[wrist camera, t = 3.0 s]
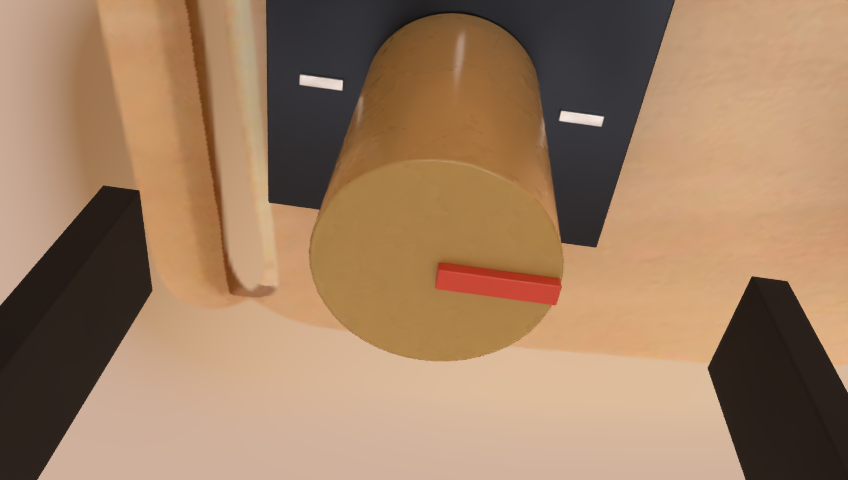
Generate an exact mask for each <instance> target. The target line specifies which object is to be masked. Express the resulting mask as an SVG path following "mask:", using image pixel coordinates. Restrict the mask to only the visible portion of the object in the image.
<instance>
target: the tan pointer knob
mask: <svg viewBox="0 0 848 480" xmlns="http://www.w3.org/2000/svg"><path fill="white" fill-rule="evenodd" d="M309 259H310V268H311V273H312V277H313V280H314V283H315V286H316V288H317V291H318V293H319V295H320V297H321V298H322V300H323V302H324V304H325V305H326V306H327V308H328V309H329V310H330V312H331V313H332V314H333V315H334V316H335V318H336V319H337V320H338V321H339V322H340V323H341V324H342V325H343V326H345V327H346V328H347V329H348V330H350V331H351V332H352V333H353V334H355V335H356V336H358V337H360V338H361V339H362V340H364V341H366V342H368V343H370V344H372V345H373V346H375V347H378V348H380V349H382V350H385V351H387V352H390V353H393V354H396V355H400V356H404V357H408V358H413V359H418V360H427V361H428V360H429V361H457V360H466V359H471V358H476V357H480V356H484V355H486V354H490V353H493V352H496V351H498V350H500V349H503V348H505V347H507V346H509V345H511V344H512V343H514V342H516V341H518V340H519V339H521V338H522V337H523V336H525V335H526V334H527V333H529V332H530V331H531V330H532V329H533V328H534V327H535V326H536V325H537V324H538V323H539V322H540V321H541V320H542V319H543V318H544V316H545V315H546V314H547V312H548V311H549V309H550V308H551V306H552V305H556V304H557V301H558V297H559V294H560V291H561V287H562V286H561V281H562V276H563V261H564V259H563V252H562V244H561V237H560V230H559V223H558V216H557V209H556V202H555V195H554V187H553V180H552V173H551V166H550V159H549V152H548V145H547V138H546V131H545V124H544V117H543V110H542V102H541V95H540V88H539V81H538V77H537V74H536V70H535V68H534V65H533V63H532V61H531V59H530V57H529V56H528V54H527V52H526V51H525V49H524V48H523V47H522V46H521V44H520V43H519V42H518V41H517V40H516V39H515V38H514V37H513V36H512V35H510V34H509V33H508V32H507V31H505V30H504V29H502V28H501V27H499V26H498V25H496V24H494V23H492V22H490V21H488V20H485V19H482V18H479V17H476V16H471V15H466V14H456V13H447V14H437V15H432V16H427V17H424V18H421V19H418V20H415V21H413V22H411V23H409V24H407V25H405V26H404V27H402V28H401V29H399V30H398V31H396V32H395V33H394V34H393V35H392V36H391V37H389V38H388V39H387V40H386V42H385V43H384V44H383V45H382V46H381V47H380V49H379V50H378V52H377V53H376V55H375V57H374V59H373V61H372V63H371V65H370V67H369V70H368V73H367V76H366V79H365V82H364V84H363V87H362V90H361V93H360V96H359V99H358V102H357V105H356V107H355V110H354V113H353V116H352V119H351V122H350V125H349V128H348V130H347V133H346V136H345V139H344V142H343V145H342V148H341V151H340V153H339V156H338V159H337V162H336V165H335V168H334V171H333V173H332V176H331V179H330V182H329V185H328V188H327V191H326V194H325V196H324V199H323V202H322V205H321V208H320V211H319V214H318V217H317V219H316V222H315V225H314V229H313V232H312V236H311V240H310V249H309Z"/></svg>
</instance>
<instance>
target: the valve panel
mask: <svg viewBox="0 0 848 480" xmlns="http://www.w3.org/2000/svg"><path fill="white" fill-rule="evenodd" d="M674 2H675V0H266V26H267V115H268V201H269V203H276V204H283V205H290V206H298V207H305V208H312V209H319V210H320V208H321V205H322V202H323V199H324V196H325V194H326V191H327V188H328V185H329V182H330V179H331V176H332V173H333V171H334V168H335V165H336V162H337V159H338V156H339V153H340V151H341V148H342V145H343V142H344V139H345V136H346V133H347V130H348V128H349V125H350V122H351V119H352V116H353V113H354V110H355V107H356V105H357V102H358V99H359V96H360V93H361V90H362V87H363V84H364V82H365V79H366V76H367V73H368V70H369V67H370V65H371V63H372V61H373V59H374V57H375V55H376V53H377V52H378V50H379V49H380V47H381V46H382V45H383V44H384V43H385V42H386V40H387V39H388V38H389V37H391V36H392V35H393V34H394V33H395V32H396V31H398V30H399V29H401V28H402V27H404V26H405V25H407V24H409V23H411V22H413V21H415V20H418V19H421V18H424V17H427V16H432V15H437V14H447V13H456V14H466V15H471V16H476V17H479V18H482V19H485V20H488V21H490V22H492V23H494V24H496V25H498V26H499V27H501V28H502V29H504V30H505V31H507V32H508V33H509V34H510V35H512V36H513V37H514V38H515V39H516V40H517V41H518V42H519V43H520V44H521V46H522V47H523V48H524V49H525V51H526V52H527V54H528V56H529V57H530V59H531V61H532V63H533V65H534V68H535V70H536V74H537V77H538V81H539V88H540V95H541V102H542V110H543V117H544V124H545V131H546V138H547V145H548V152H549V159H550V166H551V173H552V180H553V187H554V195H555V202H556V209H557V216H558V223H559V230H560V237H561V243H567V244H574V245H581V246H589V247H597V244H598V241H599V238H600V234H601V231H602V228H603V225H604V222H605V219H606V216H607V212H608V209H609V206H610V203H611V200H612V197H613V194H614V190H615V187H616V184H617V181H618V178H619V175H620V172H621V168H622V165H623V162H624V159H625V156H626V153H627V149H628V146H629V143H630V140H631V137H632V134H633V131H634V127H635V124H636V121H637V118H638V115H639V112H640V109H641V105H642V102H643V99H644V96H645V93H646V90H647V87H648V83H649V80H650V77H651V74H652V71H653V68H654V65H655V61H656V58H657V55H658V52H659V49H660V46H661V43H662V39H663V36H664V33H665V30H666V27H667V24H668V20H669V17H670V14H671V11H672V8H673V5H674Z"/></svg>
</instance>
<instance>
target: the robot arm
mask: <svg viewBox="0 0 848 480" xmlns="http://www.w3.org/2000/svg"><path fill="white" fill-rule="evenodd" d="M151 292H152V284H151V277H150V269H149V261H148V253H147V245H146V238H145V230H144V222H143V215H142V207H141V199H140V192H139V190H132V189H124V188H117V187H110V186H103V187H102V188H101V189H100V190H99V191H98V193H97V194H96V195H95V196H94V197H93V198H92V200H91V201H90V202H89V203H88V204H87V205H86V207H85V208H84V209H83V210H82V211H81V212H80V213H79V215H78V216H77V217H76V218H75V219H74V220H73V222H72V223H71V224H70V225H69V226H68V227H67V229H66V230H65V231H64V232H63V234H61V236H60V237H59V238H58V239H57V240H56V241H55V243H54V244H53V245H52V246H51V247H50V248H49V250H48V251H47V252H46V253H45V254H44V256H43V257H42V258H41V259H40V260H39V261H38V262H37V264H36V265H35V266H34V267H33V268H32V269H31V271H30V272H29V273H28V274H27V275H26V276H25V278H24V279H23V280H22V281H21V282H20V283H19V285H18V286H17V287H16V288H15V289H14V290H13V292H12V293H11V294H10V295H9V296H8V297H7V299H6V300H5V301H4V302H3V303H2V304H1V305H0V480H37V479H38V478H39V476H40V474H41V473H42V471H43V470H44V468H45V466H46V465H47V463H48V461H49V460H50V458H51V456H52V455H53V453H54V452H55V450H56V448H57V447H58V445H59V443H60V442H61V440H62V438H63V437H64V435H65V433H66V432H67V430H68V429H69V427H70V425H71V424H72V422H73V420H74V419H75V417H76V415H77V414H78V412H79V410H80V409H81V407H82V405H83V404H84V402H85V401H86V399H87V397H88V395H89V394H90V392H91V391H92V389H93V387H94V386H95V384H96V382H97V381H98V379H99V378H100V376H101V374H102V373H103V371H104V369H105V367H106V366H107V364H108V363H109V361H110V360H111V358H112V356H113V355H114V353H115V351H116V350H117V348H118V346H119V344H120V343H121V341H122V340H123V338H124V336H125V335H126V333H127V332H128V330H129V328H130V327H131V325H132V323H133V322H134V320H135V318H136V317H137V315H138V314H139V312H140V310H141V308H142V307H143V305H144V304H145V302H146V300H147V299H148V297H149V295H150V294H151ZM708 371H709V374H710V377H711V379H712V382H713V385H714V388H715V391H716V394H717V397H718V400H719V403H720V406H721V409H722V412H723V414H724V418H725V420H726V424H727V426H728V429H729V432H730V435H731V438H732V441H733V444H734V447H735V450H736V453H737V456H738V459H739V462H740V465H741V467H742V470H743V473H744V476H745V479H746V480H848V392H847V390H846V389H845V387H844V385H843V383H842V381H841V379H840V378H839V376H838V374H837V372H836V370H835V368H834V366H833V365H832V363H831V361H830V359H829V357H828V355H827V353H826V352H825V350H824V348H823V346H822V344H821V342H820V341H819V339H818V337H817V335H816V333H815V331H814V329H813V328H812V326H811V324H810V322H809V320H808V318H807V316H806V315H805V313H804V311H803V309H802V307H801V305H800V304H799V302H798V300H797V298H796V296H795V294H794V292H793V291H792V289H791V287H790V285H789V283H788V281H781V280H774V279H767V278H760V277H753V276H752V277H751V279H750V281H749V284H748V286H747V288H746V290H745V292H744V294H743V296H742V298H741V300H740V302H739V304H738V306H737V308H736V310H735V312H734V315H733V317H732V319H731V321H730V323H729V325H728V327H727V329H726V331H725V333H724V335H723V337H722V339H721V341H720V344H719V346H718V348H717V350H716V352H715V354H714V356H713V358H712V360H711V362H710V364H709V366H708Z"/></svg>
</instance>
